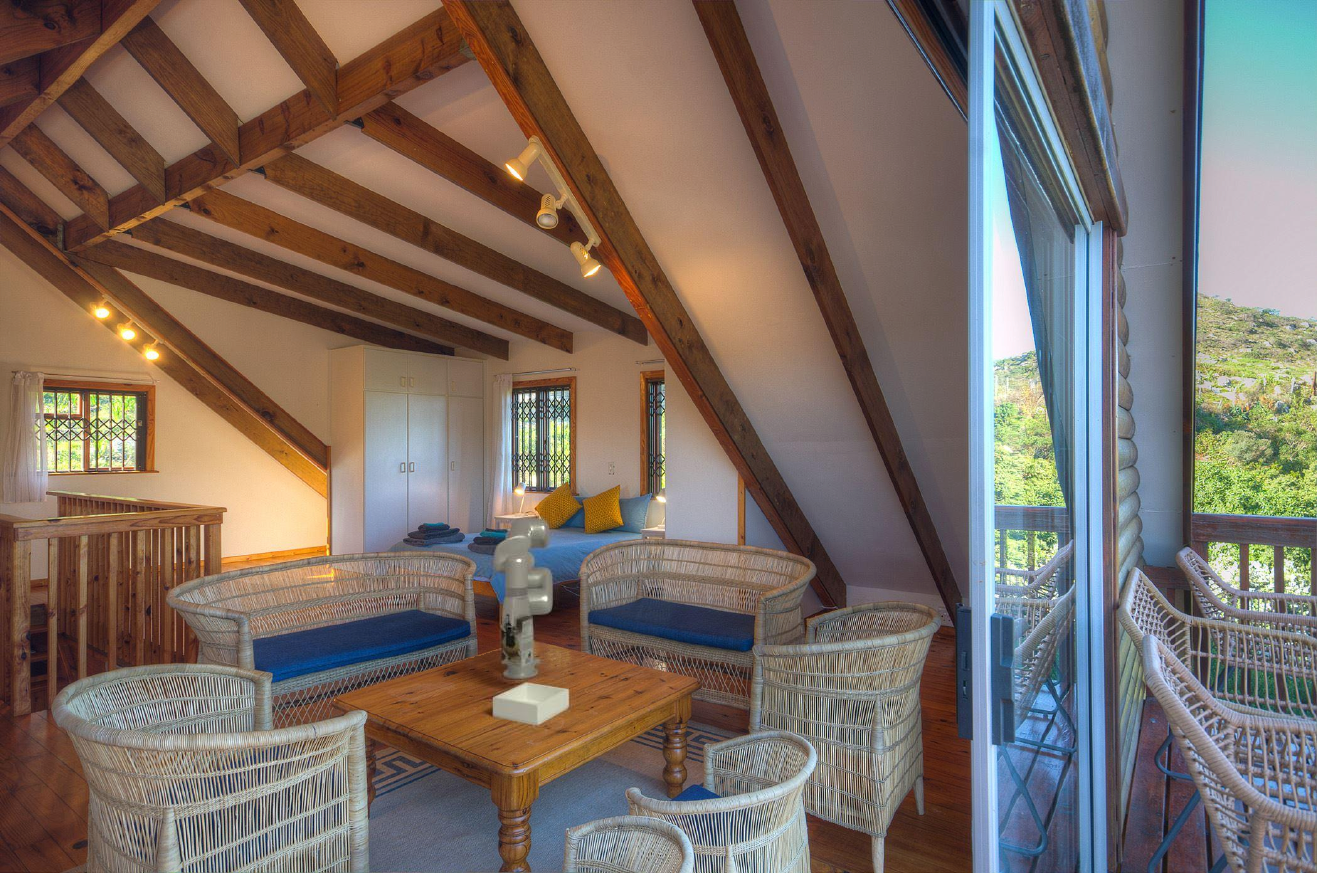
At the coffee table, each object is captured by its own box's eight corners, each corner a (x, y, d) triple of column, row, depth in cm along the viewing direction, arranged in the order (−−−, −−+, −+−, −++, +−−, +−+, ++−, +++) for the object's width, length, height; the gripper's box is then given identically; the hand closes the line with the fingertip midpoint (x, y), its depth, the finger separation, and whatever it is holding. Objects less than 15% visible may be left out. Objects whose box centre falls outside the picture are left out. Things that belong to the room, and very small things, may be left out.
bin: (526, 700, 246) (526, 682, 246) (568, 707, 238) (568, 689, 238) (492, 716, 231) (492, 697, 231) (537, 725, 223) (537, 705, 223)
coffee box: (500, 663, 252) (500, 616, 252) (512, 658, 258) (512, 612, 258) (521, 667, 248) (521, 619, 248) (533, 662, 254) (533, 615, 253)
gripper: (523, 586, 262) (523, 636, 262) (491, 595, 247) (491, 649, 247) (540, 588, 259) (540, 638, 259) (509, 597, 243) (509, 652, 243)
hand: (516, 643), depth 253 cm, fingers closed on coffee box, 6 cm apart
